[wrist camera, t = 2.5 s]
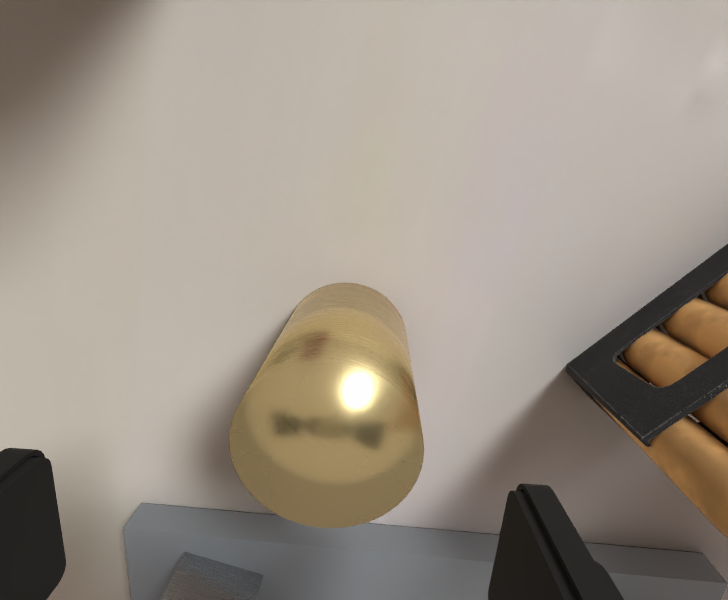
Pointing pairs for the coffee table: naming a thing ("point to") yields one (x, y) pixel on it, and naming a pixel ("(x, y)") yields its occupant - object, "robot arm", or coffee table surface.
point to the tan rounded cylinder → (332, 413)
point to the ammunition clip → (672, 383)
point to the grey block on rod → (211, 581)
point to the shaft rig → (372, 559)
